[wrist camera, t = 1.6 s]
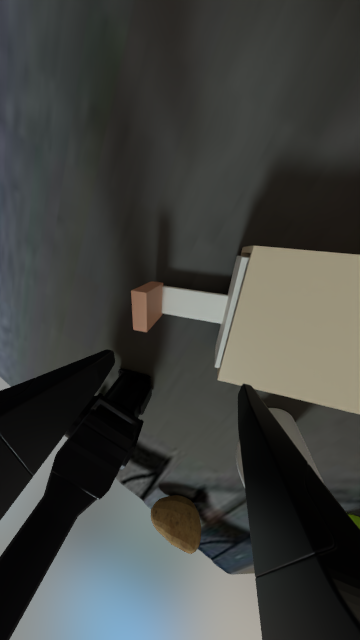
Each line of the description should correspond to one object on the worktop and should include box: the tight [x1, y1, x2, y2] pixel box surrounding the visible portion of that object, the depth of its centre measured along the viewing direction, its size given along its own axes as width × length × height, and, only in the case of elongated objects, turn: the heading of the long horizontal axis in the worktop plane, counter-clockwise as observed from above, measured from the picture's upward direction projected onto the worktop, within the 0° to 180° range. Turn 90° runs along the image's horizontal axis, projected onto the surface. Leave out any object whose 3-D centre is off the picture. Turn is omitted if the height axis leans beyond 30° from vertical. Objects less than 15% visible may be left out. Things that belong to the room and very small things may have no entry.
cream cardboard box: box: [217, 246, 360, 414], centre depth 16 cm, size 16×14×6 cm
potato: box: [151, 495, 201, 554], centre depth 45 cm, size 9×16×9 cm, turn 98°
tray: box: [131, 256, 249, 368], centre depth 16 cm, size 25×12×6 cm, turn 85°
